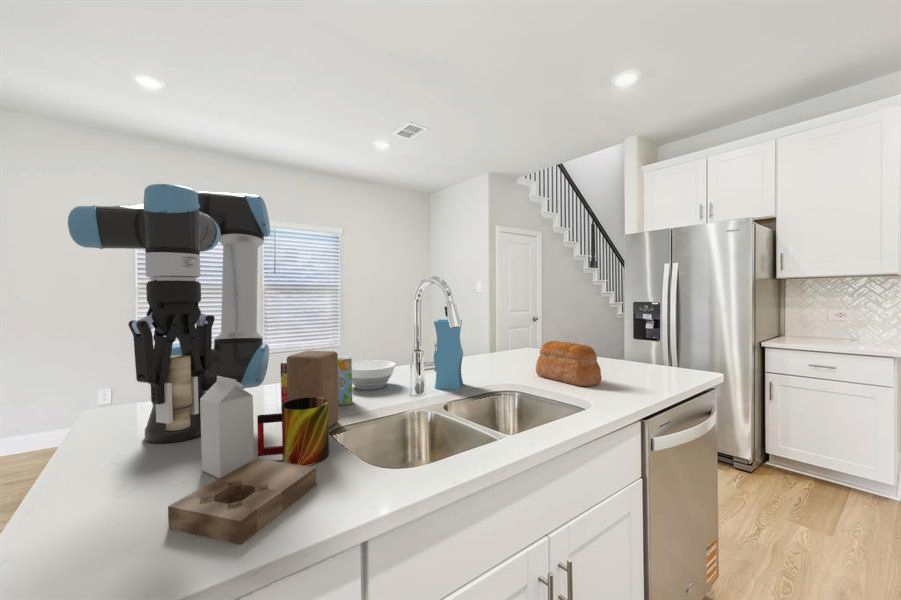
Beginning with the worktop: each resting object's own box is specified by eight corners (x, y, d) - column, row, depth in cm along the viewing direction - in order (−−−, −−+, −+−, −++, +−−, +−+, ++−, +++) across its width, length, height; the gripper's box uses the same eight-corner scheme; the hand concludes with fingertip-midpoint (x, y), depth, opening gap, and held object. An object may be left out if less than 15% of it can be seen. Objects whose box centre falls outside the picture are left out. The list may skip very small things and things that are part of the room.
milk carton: (220, 480, 77) (217, 383, 77) (201, 471, 81) (199, 379, 81) (254, 466, 83) (252, 376, 83) (235, 458, 87) (233, 372, 87)
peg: (157, 430, 66) (155, 358, 66) (180, 422, 70) (178, 354, 69) (175, 432, 65) (173, 359, 64) (198, 424, 69) (196, 355, 68)
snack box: (351, 400, 132) (350, 355, 132) (352, 405, 127) (351, 358, 126) (282, 406, 125) (281, 359, 125) (280, 412, 120) (279, 362, 120)
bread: (583, 389, 145) (583, 347, 145) (531, 376, 167) (531, 340, 166) (606, 384, 153) (606, 344, 152) (553, 372, 174) (553, 337, 174)
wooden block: (321, 435, 101) (320, 357, 100) (286, 432, 103) (284, 356, 102) (340, 422, 111) (339, 350, 110) (307, 419, 113) (306, 349, 112)
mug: (256, 460, 86) (255, 405, 86) (319, 444, 95) (318, 394, 94) (268, 476, 79) (267, 417, 78) (335, 457, 87) (334, 404, 87)
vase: (438, 382, 156) (437, 319, 155) (463, 383, 154) (462, 319, 153) (433, 389, 146) (433, 321, 145) (460, 389, 144) (460, 321, 144)
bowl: (391, 393, 141) (391, 369, 141) (336, 393, 141) (336, 370, 141) (399, 380, 160) (398, 360, 160) (351, 380, 161) (351, 360, 160)
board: (168, 528, 62) (168, 506, 62) (256, 475, 79) (255, 458, 79) (240, 544, 58) (240, 521, 58) (316, 485, 75) (316, 467, 75)
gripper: (136, 278, 57) (141, 438, 58) (233, 280, 74) (236, 405, 74) (100, 279, 59) (106, 433, 60) (202, 280, 76) (205, 401, 76)
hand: (178, 417), depth 67 cm, fingers closed on peg, 4 cm apart
